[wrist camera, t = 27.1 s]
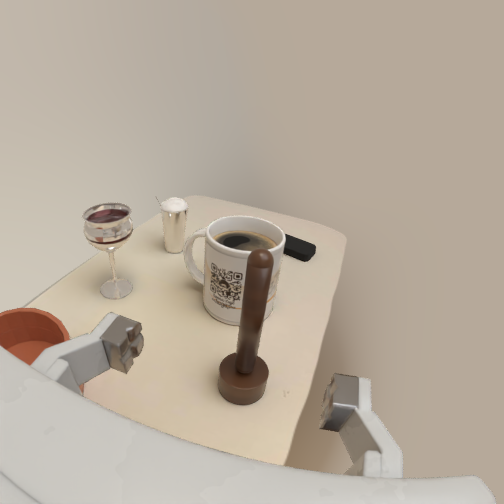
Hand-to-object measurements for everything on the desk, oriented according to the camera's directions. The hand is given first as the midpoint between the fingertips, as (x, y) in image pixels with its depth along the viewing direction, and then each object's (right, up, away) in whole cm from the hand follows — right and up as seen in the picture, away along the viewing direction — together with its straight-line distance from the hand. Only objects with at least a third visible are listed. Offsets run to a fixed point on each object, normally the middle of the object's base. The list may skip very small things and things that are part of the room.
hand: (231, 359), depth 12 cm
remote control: (+5, +6, +49) cm, 49 cm away
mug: (-2, -2, +33) cm, 33 cm away
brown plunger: (0, -10, +20) cm, 22 cm away
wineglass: (-19, -1, +32) cm, 37 cm away
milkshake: (-13, +5, +43) cm, 45 cm away
